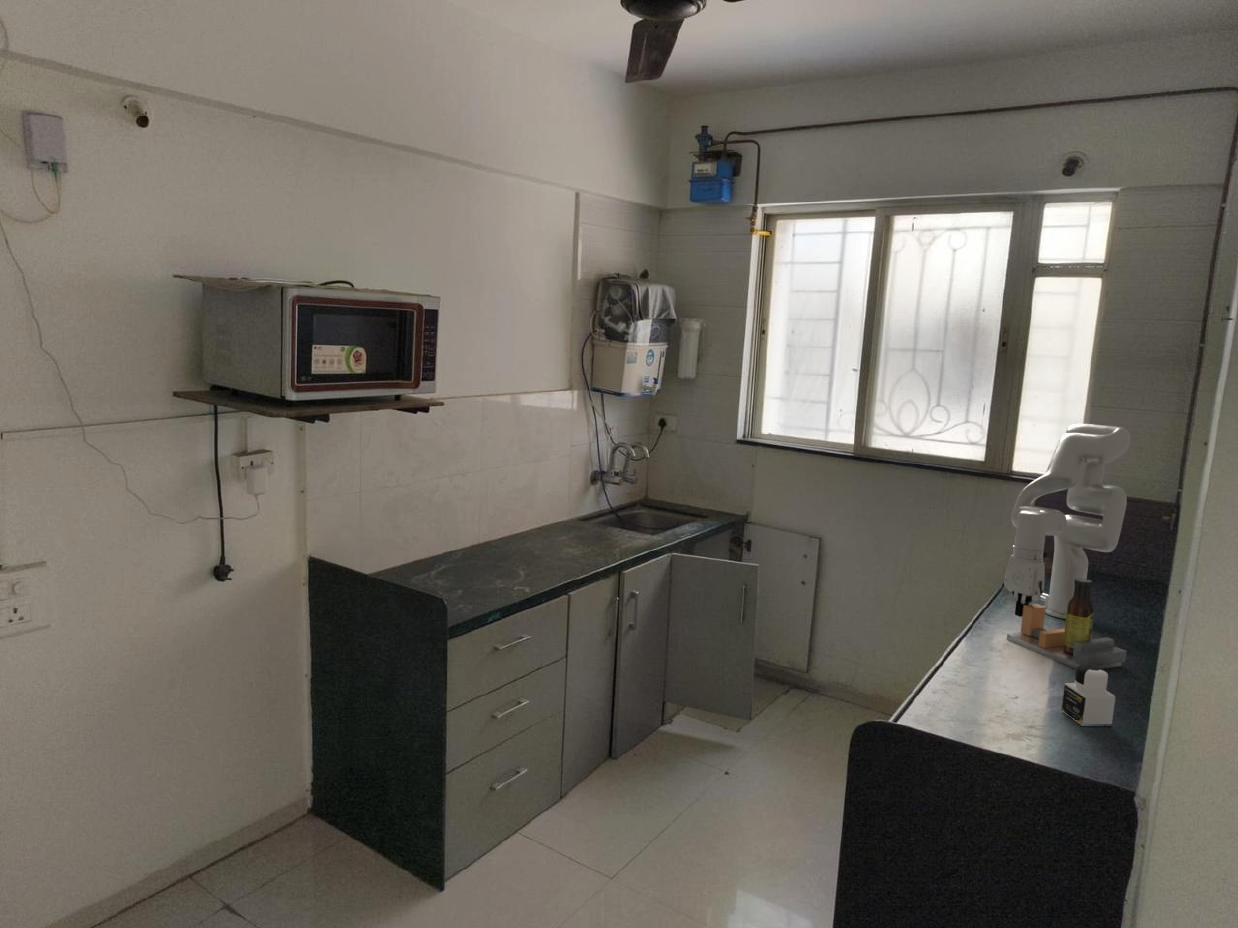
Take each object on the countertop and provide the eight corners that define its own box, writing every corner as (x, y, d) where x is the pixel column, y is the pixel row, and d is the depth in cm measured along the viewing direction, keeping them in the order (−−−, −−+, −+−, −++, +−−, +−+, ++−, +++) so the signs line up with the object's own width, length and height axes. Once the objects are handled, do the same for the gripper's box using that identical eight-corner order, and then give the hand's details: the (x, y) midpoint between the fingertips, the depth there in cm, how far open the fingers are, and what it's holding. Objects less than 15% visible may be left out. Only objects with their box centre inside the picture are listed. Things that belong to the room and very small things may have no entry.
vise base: (1006, 638, 225) (1009, 616, 224) (1042, 634, 230) (1045, 612, 229) (1086, 673, 202) (1089, 649, 201) (1124, 667, 207) (1127, 643, 206)
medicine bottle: (1060, 712, 179) (1066, 661, 177) (1090, 712, 179) (1096, 661, 178) (1081, 727, 172) (1088, 674, 170) (1112, 727, 172) (1119, 674, 171)
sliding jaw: (1011, 633, 224) (1014, 606, 223) (1042, 629, 229) (1045, 602, 228) (1044, 647, 214) (1048, 619, 213) (1076, 643, 219) (1080, 615, 218)
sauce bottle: (1092, 657, 209) (1102, 585, 206) (1067, 655, 210) (1076, 582, 207) (1083, 648, 215) (1092, 578, 212) (1058, 646, 216) (1067, 575, 213)
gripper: (997, 547, 231) (990, 608, 234) (1040, 561, 218) (1032, 625, 220) (1016, 546, 234) (1009, 606, 237) (1060, 559, 220) (1052, 622, 223)
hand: (1021, 615), depth 228 cm, fingers closed
